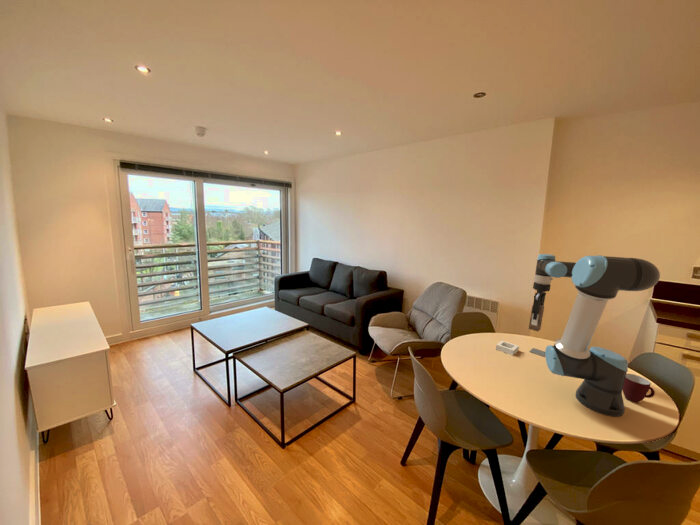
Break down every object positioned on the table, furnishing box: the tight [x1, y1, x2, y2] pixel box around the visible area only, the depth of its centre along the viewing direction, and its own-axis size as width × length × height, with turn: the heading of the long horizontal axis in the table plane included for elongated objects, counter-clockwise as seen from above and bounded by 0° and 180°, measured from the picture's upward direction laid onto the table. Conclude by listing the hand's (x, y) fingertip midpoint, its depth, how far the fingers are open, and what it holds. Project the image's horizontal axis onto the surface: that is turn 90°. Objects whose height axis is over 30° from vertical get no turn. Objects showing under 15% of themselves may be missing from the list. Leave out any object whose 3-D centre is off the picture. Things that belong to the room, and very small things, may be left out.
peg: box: [528, 305, 545, 332], centre depth 150 cm, size 4×4×14 cm
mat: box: [528, 347, 545, 358], centre depth 157 cm, size 7×7×1 cm
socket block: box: [495, 340, 520, 357], centre depth 158 cm, size 9×9×3 cm
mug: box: [622, 373, 656, 404], centre depth 116 cm, size 11×8×10 cm
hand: (535, 323), depth 150 cm, fingers closed on peg, 4 cm apart
